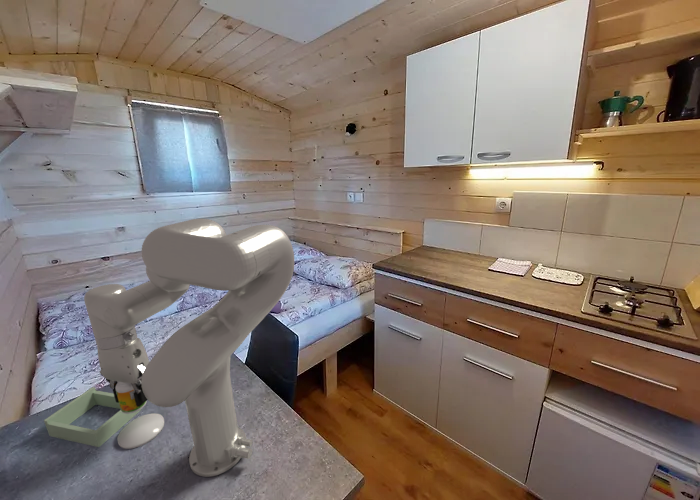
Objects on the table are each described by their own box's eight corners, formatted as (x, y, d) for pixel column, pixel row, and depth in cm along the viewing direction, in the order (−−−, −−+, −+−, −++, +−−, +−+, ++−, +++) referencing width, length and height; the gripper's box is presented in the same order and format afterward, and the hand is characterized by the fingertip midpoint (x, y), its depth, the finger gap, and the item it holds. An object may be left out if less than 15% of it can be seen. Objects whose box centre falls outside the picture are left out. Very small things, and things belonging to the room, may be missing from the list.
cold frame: (141, 409, 85) (137, 395, 83) (99, 447, 74) (93, 431, 72) (96, 401, 88) (92, 387, 87) (49, 436, 77) (43, 420, 76)
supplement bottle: (116, 409, 75) (107, 376, 72) (139, 395, 79) (132, 363, 76) (128, 417, 72) (119, 384, 69) (151, 402, 77) (144, 370, 74)
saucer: (173, 418, 81) (172, 416, 81) (141, 452, 72) (140, 449, 72) (142, 413, 84) (142, 410, 83) (107, 444, 74) (107, 442, 74)
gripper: (160, 332, 72) (173, 394, 77) (103, 324, 76) (119, 385, 81) (132, 350, 65) (148, 418, 70) (70, 341, 69) (90, 406, 73)
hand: (132, 399), depth 75 cm, fingers closed on supplement bottle, 5 cm apart
